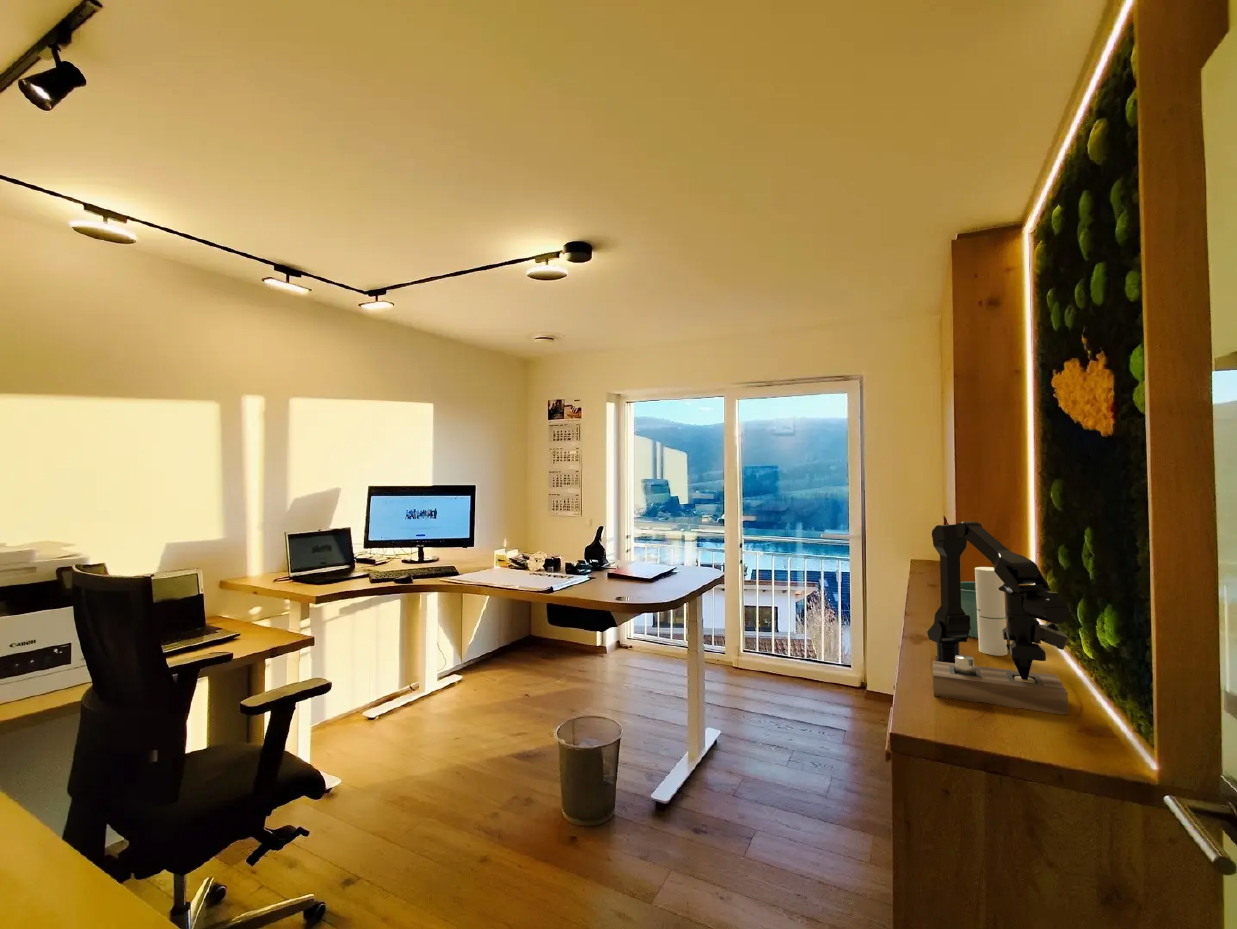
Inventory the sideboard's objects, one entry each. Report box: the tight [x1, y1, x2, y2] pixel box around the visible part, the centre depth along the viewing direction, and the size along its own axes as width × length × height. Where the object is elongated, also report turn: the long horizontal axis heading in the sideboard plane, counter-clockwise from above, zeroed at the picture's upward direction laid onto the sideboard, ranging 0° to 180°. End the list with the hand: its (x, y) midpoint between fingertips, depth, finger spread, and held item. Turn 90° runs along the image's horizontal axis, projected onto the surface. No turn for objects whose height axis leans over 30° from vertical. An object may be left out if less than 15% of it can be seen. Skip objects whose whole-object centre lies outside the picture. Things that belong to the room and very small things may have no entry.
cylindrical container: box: [974, 566, 1008, 657], centre depth 166 cm, size 7×7×25 cm
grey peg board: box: [932, 660, 1070, 715], centre depth 134 cm, size 12×26×5 cm, turn 61°
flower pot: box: [961, 581, 1006, 639], centre depth 185 cm, size 16×16×16 cm
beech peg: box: [1014, 676, 1035, 683], centre depth 131 cm, size 4×4×5 cm
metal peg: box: [955, 654, 975, 676], centre depth 137 cm, size 4×4×5 cm
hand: (1024, 679), depth 131 cm, fingers closed, pressing on beech peg
